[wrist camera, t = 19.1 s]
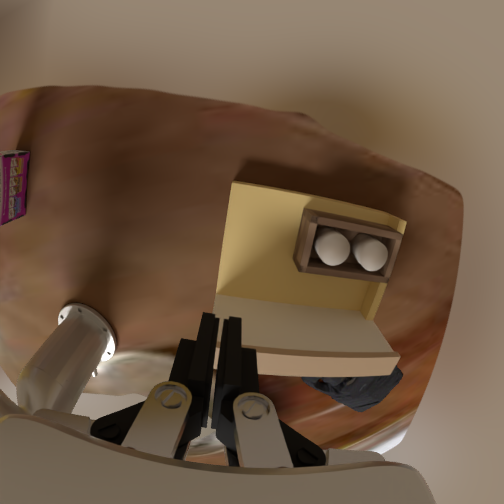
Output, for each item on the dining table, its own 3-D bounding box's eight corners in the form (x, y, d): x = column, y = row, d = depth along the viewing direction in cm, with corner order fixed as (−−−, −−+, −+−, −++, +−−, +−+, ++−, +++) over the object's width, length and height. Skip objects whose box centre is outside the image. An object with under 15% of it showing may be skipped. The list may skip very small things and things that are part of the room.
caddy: (374, 270, 35) (388, 284, 31) (292, 258, 34) (299, 273, 30) (387, 225, 33) (404, 235, 28) (303, 207, 32) (312, 216, 28)
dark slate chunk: (350, 411, 51) (355, 426, 47) (294, 371, 45) (298, 389, 41) (405, 373, 48) (414, 387, 44) (364, 320, 42) (374, 337, 38)
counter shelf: (355, 316, 41) (390, 374, 28) (213, 300, 39) (201, 366, 26) (388, 212, 35) (449, 243, 22) (230, 180, 33) (221, 195, 20)
